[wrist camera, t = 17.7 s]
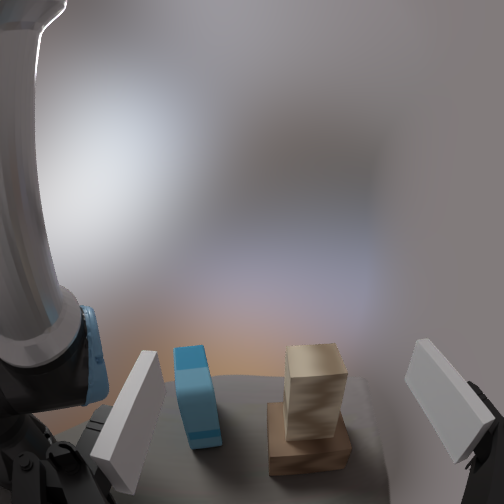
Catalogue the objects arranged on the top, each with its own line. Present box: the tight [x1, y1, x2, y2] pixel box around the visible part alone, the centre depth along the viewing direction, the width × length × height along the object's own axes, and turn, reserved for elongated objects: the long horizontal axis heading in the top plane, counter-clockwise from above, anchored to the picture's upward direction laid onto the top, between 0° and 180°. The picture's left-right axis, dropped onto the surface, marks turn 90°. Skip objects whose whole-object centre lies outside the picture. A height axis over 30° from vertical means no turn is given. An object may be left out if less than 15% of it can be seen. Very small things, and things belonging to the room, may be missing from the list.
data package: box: [173, 345, 222, 449], centre depth 37 cm, size 12×4×12 cm, turn 15°
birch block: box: [283, 343, 348, 441], centre depth 31 cm, size 6×6×11 cm
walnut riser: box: [267, 402, 352, 476], centre depth 33 cm, size 10×10×5 cm
